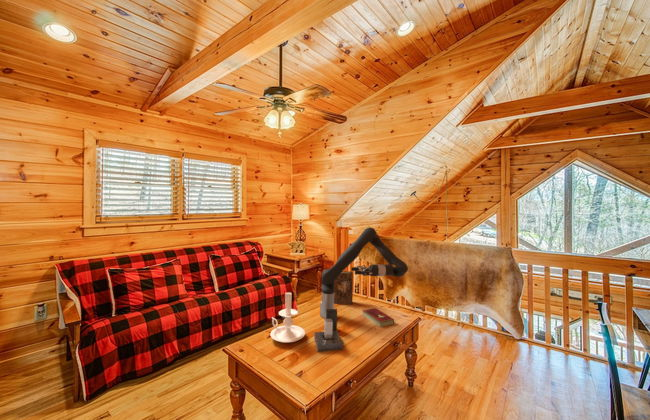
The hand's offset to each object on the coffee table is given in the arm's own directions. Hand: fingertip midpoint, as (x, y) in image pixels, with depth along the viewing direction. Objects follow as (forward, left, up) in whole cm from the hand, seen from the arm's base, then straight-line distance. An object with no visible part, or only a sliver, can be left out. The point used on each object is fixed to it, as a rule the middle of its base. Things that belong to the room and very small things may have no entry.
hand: (353, 270), depth 175 cm
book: (-29, +34, -38) cm, 59 cm away
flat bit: (-10, -10, -38) cm, 40 cm away
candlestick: (-27, -34, -38) cm, 58 cm away
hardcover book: (+7, +24, -39) cm, 46 cm away
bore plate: (-2, -25, -38) cm, 45 cm away
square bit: (-2, -25, -38) cm, 45 cm away
